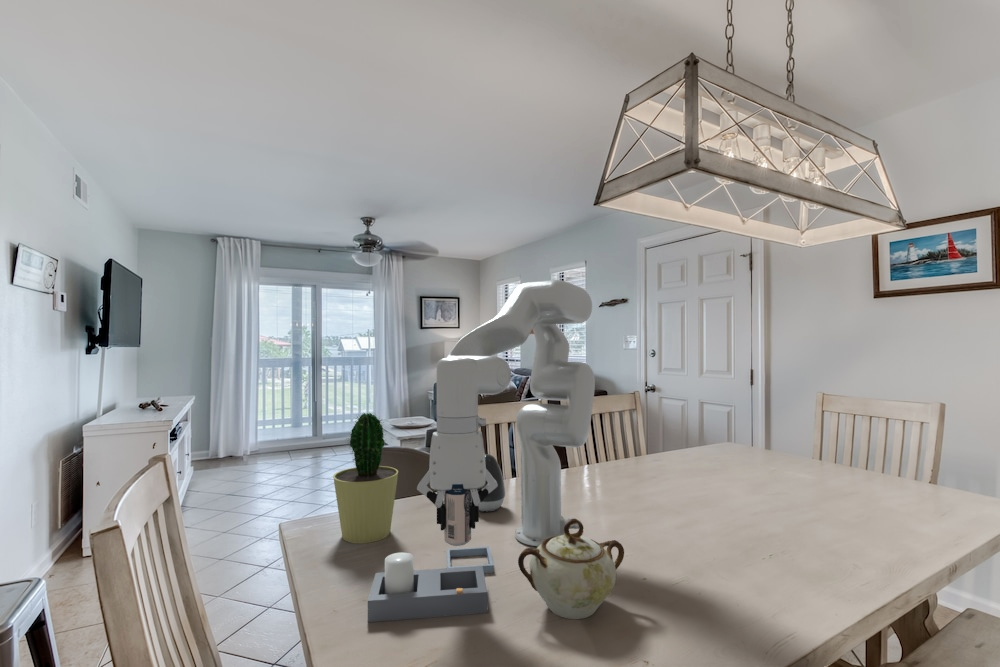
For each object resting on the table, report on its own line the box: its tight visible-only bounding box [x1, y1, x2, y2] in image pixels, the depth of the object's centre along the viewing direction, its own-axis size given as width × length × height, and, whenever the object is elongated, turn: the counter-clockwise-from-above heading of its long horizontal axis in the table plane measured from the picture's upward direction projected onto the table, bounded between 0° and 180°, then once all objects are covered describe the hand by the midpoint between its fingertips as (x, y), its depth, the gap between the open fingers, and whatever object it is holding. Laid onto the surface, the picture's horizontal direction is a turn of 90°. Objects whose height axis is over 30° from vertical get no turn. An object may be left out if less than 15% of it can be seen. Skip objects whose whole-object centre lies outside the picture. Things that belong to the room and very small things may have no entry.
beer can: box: [443, 482, 472, 547], centre depth 87 cm, size 5×5×12 cm
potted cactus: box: [332, 412, 399, 544], centre depth 118 cm, size 15×15×30 cm
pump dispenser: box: [471, 453, 506, 513], centre depth 136 cm, size 10×10×15 cm
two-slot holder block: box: [367, 552, 489, 623], centre depth 86 cm, size 20×10×8 cm, turn 97°
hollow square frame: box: [446, 546, 494, 574], centre depth 101 cm, size 9×9×2 cm
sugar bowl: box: [517, 518, 625, 620], centre depth 85 cm, size 20×15×15 cm
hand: (457, 525), depth 87 cm, fingers closed on beer can, 4 cm apart
